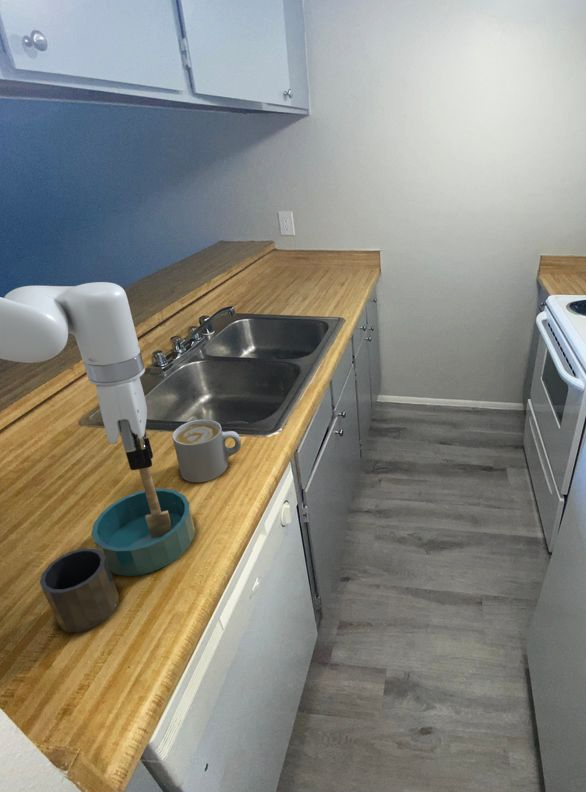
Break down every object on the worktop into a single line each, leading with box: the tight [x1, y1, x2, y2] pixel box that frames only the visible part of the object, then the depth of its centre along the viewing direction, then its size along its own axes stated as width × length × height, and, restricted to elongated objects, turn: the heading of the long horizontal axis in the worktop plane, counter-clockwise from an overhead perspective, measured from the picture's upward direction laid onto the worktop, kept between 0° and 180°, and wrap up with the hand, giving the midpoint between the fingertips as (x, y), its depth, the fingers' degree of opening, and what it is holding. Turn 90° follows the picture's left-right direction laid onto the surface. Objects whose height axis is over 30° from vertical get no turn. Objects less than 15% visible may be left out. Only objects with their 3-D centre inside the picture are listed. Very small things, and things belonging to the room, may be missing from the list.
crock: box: [39, 547, 120, 633], centre depth 73 cm, size 8×8×9 cm
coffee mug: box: [172, 419, 242, 483], centre depth 105 cm, size 13×10×10 cm
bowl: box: [91, 488, 196, 577], centre depth 87 cm, size 16×16×6 cm
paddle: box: [134, 438, 172, 538], centre depth 82 cm, size 4×2×22 cm, turn 112°
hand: (142, 462), depth 80 cm, fingers closed on paddle, 1 cm apart
